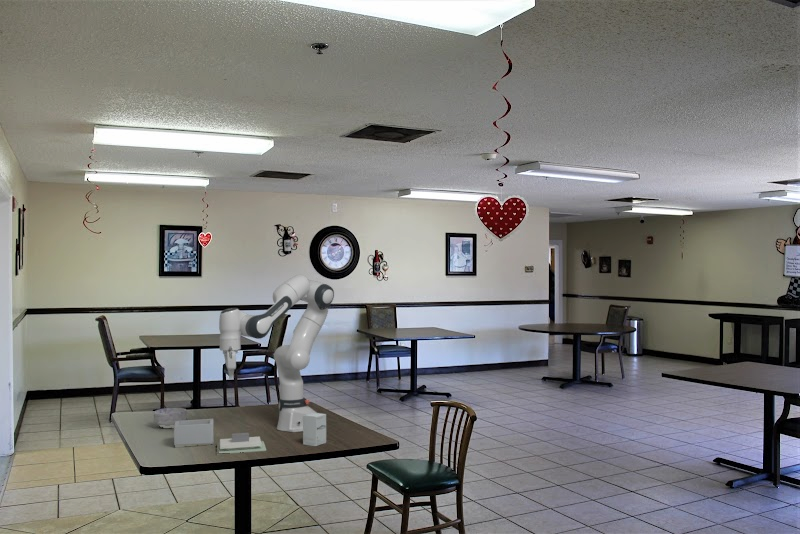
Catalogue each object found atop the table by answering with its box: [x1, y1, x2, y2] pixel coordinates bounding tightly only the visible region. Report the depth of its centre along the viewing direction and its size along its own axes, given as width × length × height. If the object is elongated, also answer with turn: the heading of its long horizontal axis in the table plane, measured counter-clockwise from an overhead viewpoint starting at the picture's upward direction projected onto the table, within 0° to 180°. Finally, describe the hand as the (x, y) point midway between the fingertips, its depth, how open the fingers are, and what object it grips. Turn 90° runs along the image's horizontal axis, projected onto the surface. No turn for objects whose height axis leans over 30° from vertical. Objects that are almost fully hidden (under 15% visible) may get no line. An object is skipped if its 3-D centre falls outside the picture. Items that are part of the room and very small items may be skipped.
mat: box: [217, 440, 267, 454], centre depth 291 cm, size 20×16×1 cm
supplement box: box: [302, 412, 327, 447], centre depth 297 cm, size 7×7×13 cm
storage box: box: [173, 418, 215, 445], centre depth 300 cm, size 16×12×9 cm
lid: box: [219, 432, 262, 450], centre depth 291 cm, size 17×13×5 cm
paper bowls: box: [153, 407, 188, 426], centre depth 334 cm, size 15×15×8 cm
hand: (230, 377), depth 300 cm, fingers open, 8 cm apart
